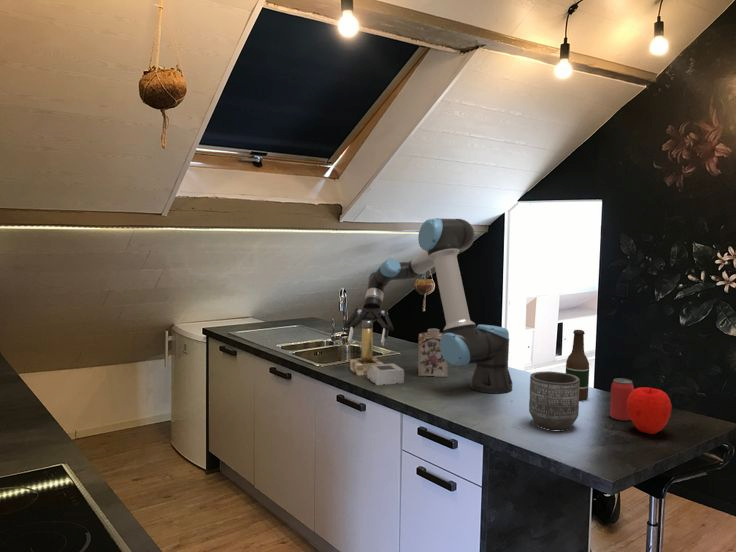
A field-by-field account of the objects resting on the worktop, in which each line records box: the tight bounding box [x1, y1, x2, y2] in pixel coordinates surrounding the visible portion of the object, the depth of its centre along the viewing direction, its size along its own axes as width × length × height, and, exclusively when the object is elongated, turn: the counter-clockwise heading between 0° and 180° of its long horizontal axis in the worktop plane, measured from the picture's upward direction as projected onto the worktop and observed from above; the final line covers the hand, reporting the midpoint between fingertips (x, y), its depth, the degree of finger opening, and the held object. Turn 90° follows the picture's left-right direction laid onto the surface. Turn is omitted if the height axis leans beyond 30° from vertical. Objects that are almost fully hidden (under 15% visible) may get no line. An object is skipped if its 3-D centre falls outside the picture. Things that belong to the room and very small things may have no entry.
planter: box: [528, 371, 580, 432], centre depth 178 cm, size 14×14×15 cm
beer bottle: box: [565, 329, 590, 402], centre depth 207 cm, size 8×8×24 cm
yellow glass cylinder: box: [361, 319, 374, 364], centre depth 242 cm, size 4×4×21 cm
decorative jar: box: [417, 328, 449, 378], centre depth 240 cm, size 12×12×18 cm
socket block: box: [366, 363, 405, 386], centre depth 229 cm, size 11×11×5 cm
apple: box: [626, 386, 672, 435], centre depth 173 cm, size 12×12×13 cm
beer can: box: [609, 377, 635, 422], centre depth 186 cm, size 7×7×12 cm
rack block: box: [349, 357, 385, 376], centre depth 243 cm, size 11×11×4 cm
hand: (365, 343), depth 240 cm, fingers open, 13 cm apart
